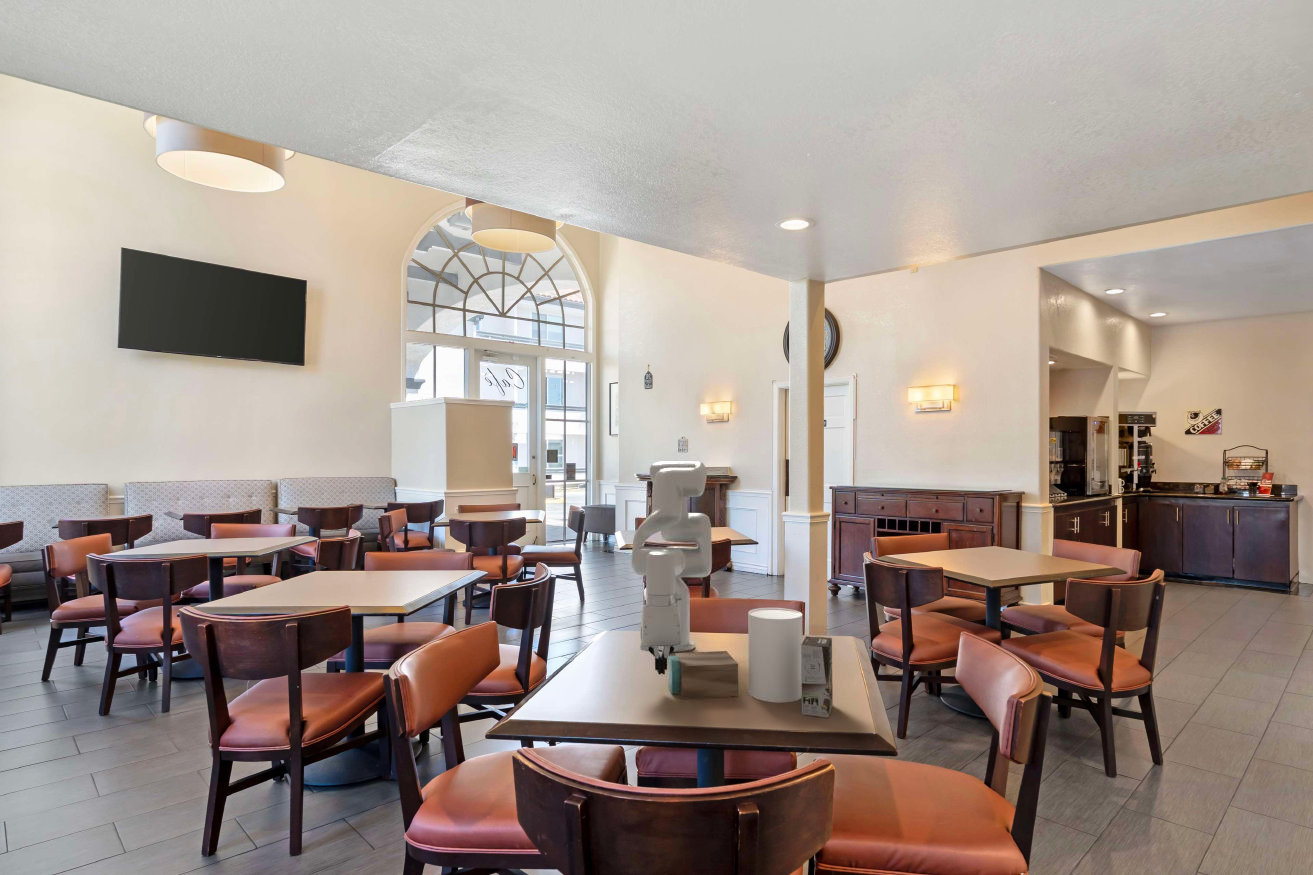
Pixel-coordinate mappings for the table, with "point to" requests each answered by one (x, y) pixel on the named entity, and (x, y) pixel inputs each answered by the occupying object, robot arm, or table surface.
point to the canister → (775, 654)
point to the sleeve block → (708, 674)
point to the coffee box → (816, 676)
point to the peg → (674, 674)
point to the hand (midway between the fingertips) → (661, 672)
